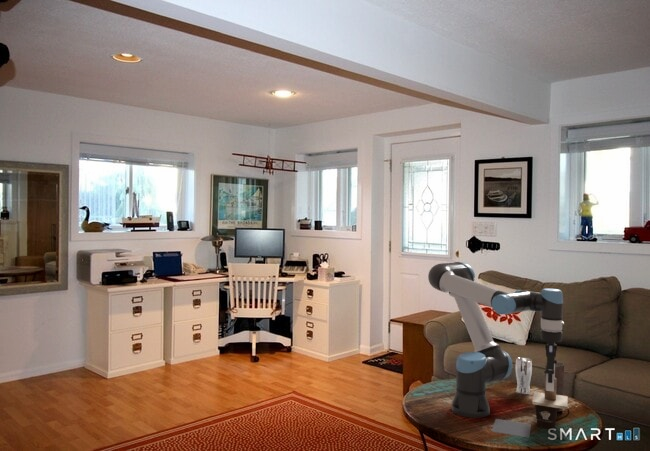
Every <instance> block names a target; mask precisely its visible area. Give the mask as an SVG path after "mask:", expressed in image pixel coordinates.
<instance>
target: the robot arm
mask: <svg viewBox="0 0 650 451" xmlns="http://www.w3.org/2000/svg"><path fill="white" fill-rule="evenodd" d="M475 274H476V273H475V271H474V269H473V267H472V266H471V265H470V264H468V263H466V262H462V261H461V262H460V261H454V262H446V263H445V262H444V263H443V262H441V263H437V264H435V265H433V266H432V267H431V268H430V270H429V271H428V279H427V280H428V283H429V284H430V285H431V287H432V288H434V289H435V290H437V291H440V292H442V293H445V294H446V293H448V295H449V296H450V297H453V298H454V300H455V302H456V305H457V308H458V310H459V313H460V315H461V318H462V320H463V323H464V324H465V328H466V331H467V332H468V335H469V337H470V340H471V342H472V344H473V347H474V350H473V351H471V352H470V351H467V352H463V353H461V354H459V355H458V356H457V358H456V364H455V369H456V370H455V372H456V373H455V377H456V378H455V379H456V380H455V383H456V386H455V387H456V388H455V394H454V397H453V399H452V403H451V412H452V413H454V414H455V415H457V416H460V417H465V418H470V419H471V418H472V419H474V418H475V419H479V418H480V419H481V418H485V417H487V416H490V413H491V410H490V409H491V408H490V405H489V400H488V398H487V395H486V391H487V390H486V388H487V387H486V386H487V384H490V383H494V382H497V381H498V382H499V381H502V380H504V379H506V378H508V377H509V376H510V375H511V373H512V371H513V359H512V358H511V356H510V354H509V353H508V352H506V351H504V350H502V348H501V346H500V344H498V343H497V342H495V341H494V338H493V336H492V334H491V331H490V329H489V326H488V324H487V322H486V320H485V317H484V315H483V313H482V310H481V308H480V305H483V306H486V307H489V308H491V309H492V310H493V311H494V312H495V313H496V314H498V315H511V314H516V313H520V312H528V311H529V312H530V311H531V312H537V313H540V328H541V329H540V339H541V340H542V341H544V342H547V343H545V357H546V362H547V370H546V371H545V370H544V374H545V373H546V391H553V392H554V377H555V364H554V363H557V362H558V361H557V360H556V357H557V356H556V355H557V350H558V349H557V348H558V344H556V343H560V342H562V341H563V331H562V330H563V325H565V322H564V321H563V312H564V297H563V296H564V295H563V294H564V293H563V291H562V290H561V289H558V288H543V289H541V292H536V291H530V290H527V289H517V290H515V292H506V291H503V290H500V289H497V288H494V287H491V286H488V285H486V284H482V283H480V282H477V281H475V278H476V275H475ZM479 304H480V305H479Z"/></svg>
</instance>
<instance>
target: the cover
mask: <svg viewBox="0 0 650 451" xmlns="http://www.w3.org/2000/svg"><path fill="white" fill-rule="evenodd" d="M556 380H557V379H556V378H555V377H554V392H553V391H546V377H545V376H544V392H545V393H544V392H539V391H534V392H533V397H532V403H531V404H532V405H534V406H535V405H541V406H548V407H554V408H561V409H563V410H567V411H568V409H569V407H568V404H569V403H568V402H569V401H568V399H569V398H568V395H564V396H562V395H556Z"/></svg>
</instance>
